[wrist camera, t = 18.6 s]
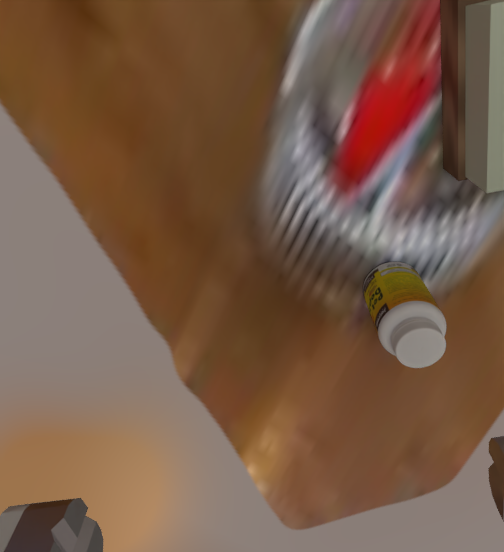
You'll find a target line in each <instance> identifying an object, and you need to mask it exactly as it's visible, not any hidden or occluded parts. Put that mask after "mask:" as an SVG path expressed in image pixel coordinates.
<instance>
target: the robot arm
mask: <svg viewBox="0 0 504 552" xmlns="http://www.w3.org/2000/svg"><path fill="white" fill-rule="evenodd" d="M489 453H490V455H491V457H492V459H493V461H494V463H493V464H492V465H491V466H490V467H489V482H490V487H491V491H492V495H493V498H494V501H495V503H496V506H497V509H498V511H499V513H500V515H501V517H502V519H503V521H504V436H500V437H494V438H491V440H490V442H489ZM87 509H88V507H87V506H86V505H85V503H84V502H83V500H82V499H81V498H77V499H68V500H59V501H50V502H42V503H32V504H25V505H17V506H10V507H8V508H7V509H6V510H5V511H4V512H3V513H2V514H1V516H0V552H103V536H102V532H101V529H100V527H99V525H98V524H97V522H96V521H94V520H92V519H91V518H89V517H87V516H85V515H86V512H87Z"/></svg>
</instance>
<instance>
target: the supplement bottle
mask: <svg viewBox="0 0 504 552" xmlns="http://www.w3.org/2000/svg"><path fill="white" fill-rule="evenodd" d="M363 294H364V298H365V301H366V303H367V306H368V309H369V312H370V315H371V318H372V320H373V323H374V326H375V329H376V331H377V334H378V337H379V340H380V342H381V344H382V346H383V347H384V348H385V349H386V350H387V351H388V352H389V353H391V354H393V355H395V356H396V357H397V358H398V360H399V361H400V362H401V363H402V364H404V365H405V366H408V367H411V368H423V367H427V366H430V365H432V364H434V363H435V362H437V361H438V360H439V359H440V358H441V357H442V355H443V354H444V352H445V349H446V341H445V338H444V336H445V333H446V320H445V318H444V316H443V314H442V312H441V310H440V309H439V307H438V306H437V304H436V302H435V301H434V299H433V297H432V296H431V294H430V292H429V291H428V289H427V287H426V286H425V284H424V283H423V281H422V279H421V277H420V276H419V274H418V273H417V271H416V270H415V269H414V268H413V267H411V266H410V265H408V264H405V263H402V262H388V263H384V264H382V265H380V266H378V267H376V268H375V269H373V270H372V271H371V272H370V273H369V274H368V276H367V278H366V280H365V282H364V286H363Z"/></svg>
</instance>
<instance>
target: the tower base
mask: <svg viewBox="0 0 504 552" xmlns="http://www.w3.org/2000/svg"><path fill="white" fill-rule="evenodd" d="M484 1H488V0H440V14H441V70H442V125H443V169H445V170H446V171H447V172H448V173H449V174H451V175H452V176H453V177H454V178H456V179H457V180H458V181H460V180H466V179H468V178H466V177H465V103H466V6H467V5H471V4H476V3H480V2H484Z"/></svg>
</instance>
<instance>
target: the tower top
mask: <svg viewBox="0 0 504 552" xmlns="http://www.w3.org/2000/svg"><path fill="white" fill-rule="evenodd" d="M465 177H466V178H468V179H469V180H470V181H471V182H473V183H474V184H475V185H477V186H478V187H479V188H480V189H482V190H483V191H484V192H486V193H491V192H496V191H502V190H504V0H488V1H484V2H480V3H476V4H471V5H467V6H466V103H465Z"/></svg>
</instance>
